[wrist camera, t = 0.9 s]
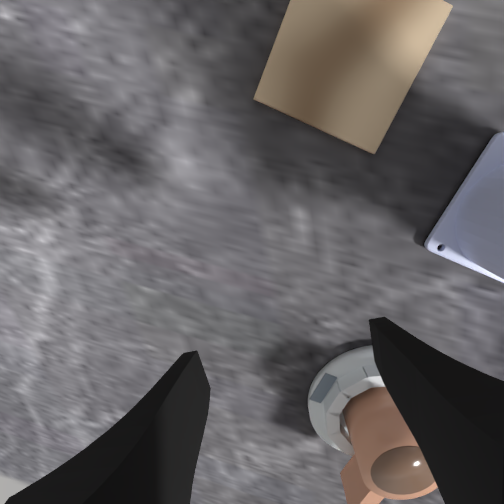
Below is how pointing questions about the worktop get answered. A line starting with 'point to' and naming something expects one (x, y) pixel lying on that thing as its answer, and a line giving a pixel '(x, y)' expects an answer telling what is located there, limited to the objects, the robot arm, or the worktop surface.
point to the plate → (340, 394)
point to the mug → (382, 452)
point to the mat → (349, 63)
